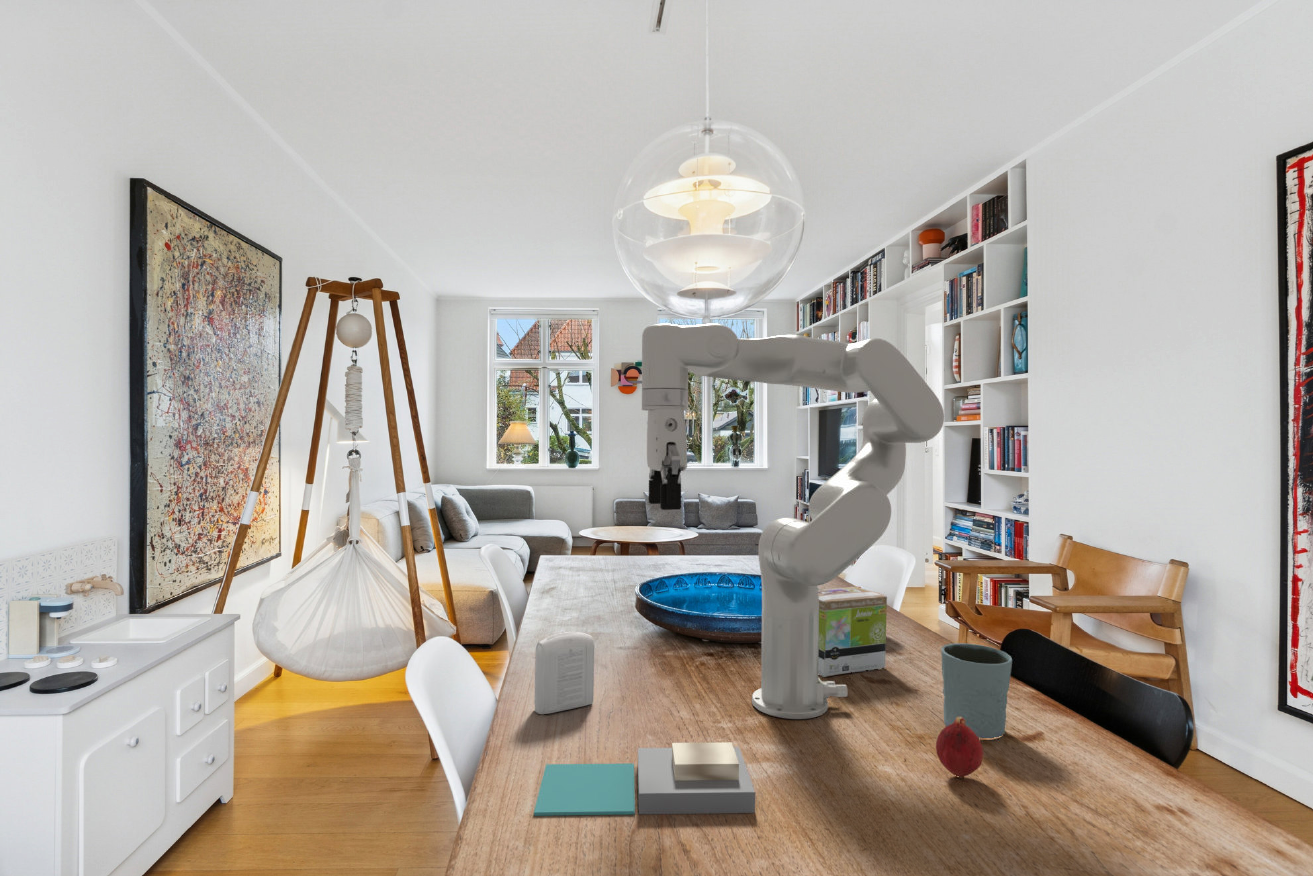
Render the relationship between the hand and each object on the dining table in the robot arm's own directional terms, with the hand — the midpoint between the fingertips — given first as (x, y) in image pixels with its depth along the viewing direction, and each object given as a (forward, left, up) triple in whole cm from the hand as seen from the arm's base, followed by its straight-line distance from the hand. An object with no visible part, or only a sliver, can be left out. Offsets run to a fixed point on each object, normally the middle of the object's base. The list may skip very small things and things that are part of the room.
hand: (664, 506), depth 111 cm
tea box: (-37, -24, -34) cm, 56 cm away
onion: (-39, +21, -34) cm, 56 cm away
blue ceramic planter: (-49, +6, -34) cm, 60 cm away
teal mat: (+11, +23, -34) cm, 43 cm away
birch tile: (-4, +23, -32) cm, 39 cm away
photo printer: (+16, -4, -34) cm, 38 cm away
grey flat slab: (-3, +23, -34) cm, 41 cm away
